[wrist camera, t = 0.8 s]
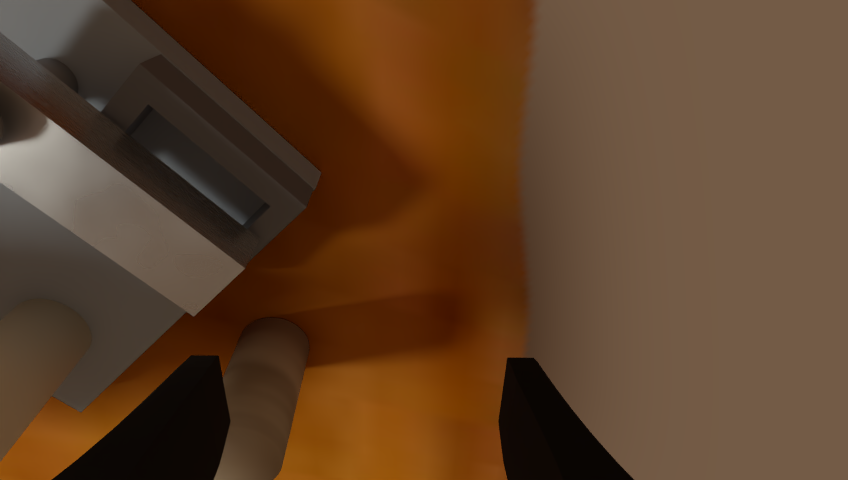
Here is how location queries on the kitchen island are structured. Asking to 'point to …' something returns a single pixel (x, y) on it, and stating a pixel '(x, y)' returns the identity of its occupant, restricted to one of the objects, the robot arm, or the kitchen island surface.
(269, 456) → the leg peg
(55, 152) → the bar
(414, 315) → the kitchen island surface
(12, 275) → the board
